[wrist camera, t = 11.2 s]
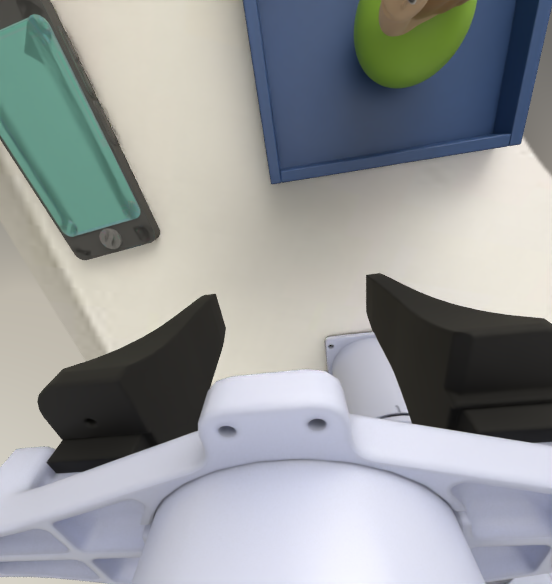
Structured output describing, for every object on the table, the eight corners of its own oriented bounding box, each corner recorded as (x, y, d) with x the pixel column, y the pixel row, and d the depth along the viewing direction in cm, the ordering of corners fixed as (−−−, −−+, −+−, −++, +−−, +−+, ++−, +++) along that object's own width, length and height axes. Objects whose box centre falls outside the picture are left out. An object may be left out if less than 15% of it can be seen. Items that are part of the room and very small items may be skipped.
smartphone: (77, 262, 23) (-76, 27, 16) (87, 257, 24) (-53, 34, 17) (159, 240, 22) (32, -22, 15) (165, 235, 23) (49, -11, 16)
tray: (554, -166, 13) (603, -222, 11) (496, 144, 19) (521, 144, 17) (233, -82, 15) (224, -117, 13) (272, 180, 21) (271, 184, 19)
